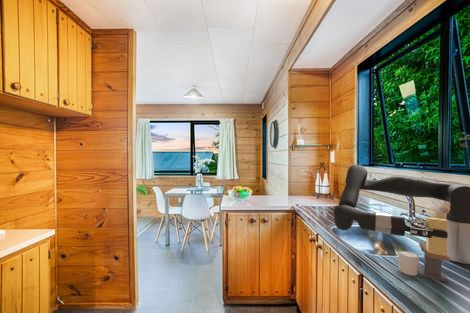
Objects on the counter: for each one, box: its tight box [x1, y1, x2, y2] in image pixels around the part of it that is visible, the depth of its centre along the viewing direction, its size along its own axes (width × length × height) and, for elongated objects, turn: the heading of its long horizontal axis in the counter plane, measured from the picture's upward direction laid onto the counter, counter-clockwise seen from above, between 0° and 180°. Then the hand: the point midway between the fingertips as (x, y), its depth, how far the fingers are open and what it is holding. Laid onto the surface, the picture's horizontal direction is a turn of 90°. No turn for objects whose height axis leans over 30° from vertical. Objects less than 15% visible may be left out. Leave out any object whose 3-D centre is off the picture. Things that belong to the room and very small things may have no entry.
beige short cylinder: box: [397, 250, 421, 276], centre depth 95 cm, size 7×7×7 cm
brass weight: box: [425, 216, 447, 257], centre depth 86 cm, size 5×5×12 cm
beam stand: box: [417, 252, 448, 283], centre depth 92 cm, size 5×8×8 cm, turn 59°
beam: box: [418, 241, 451, 263], centre depth 92 cm, size 20×7×2 cm, turn 149°
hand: (444, 232), depth 85 cm, fingers open, 7 cm apart
